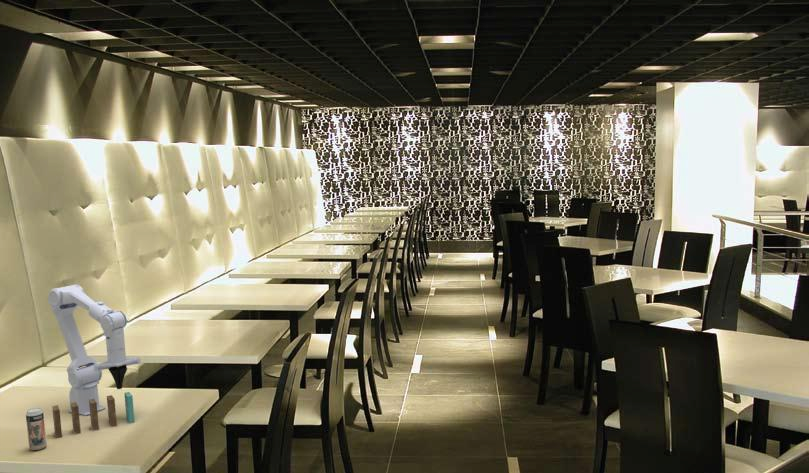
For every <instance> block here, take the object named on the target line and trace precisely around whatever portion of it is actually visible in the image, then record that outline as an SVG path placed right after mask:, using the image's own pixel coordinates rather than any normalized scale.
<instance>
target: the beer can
mask: <svg viewBox="0 0 809 473" xmlns="http://www.w3.org/2000/svg"><path fill="white" fill-rule="evenodd" d="M25 420H26V429H27V439H28V448H29V450H30V451H33V450H34V452H35V450H37V451H41V450H43V449H45V448H46V447H47V445H48V444H47V436H46V427H45V425H46V424H45V416H44V411H43V410H42V408H40V407H35V408H30V409H28V410H27V411H26V413H25Z"/></svg>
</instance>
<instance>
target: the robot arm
mask: <svg viewBox="0 0 809 473" xmlns="http://www.w3.org/2000/svg"><path fill="white" fill-rule="evenodd" d="M47 301H48V303H49V306H50V310H52V314H53V315H55V319H56V321H57V324H58V326H59V329H60V332H61V335H62V337H63V338H62V339H63V341H64V343H65V345H66V349H67V352H68V354H69V357H70V360H71V361H70V363H69V365H68V366H67V368H66V372H67V376H68V383H69V384H70V386H71V388H70V390H69V395H68V396H69V403H70V404H69V405H70V408H71V403H72V402H76V403H77V405H78V409H79V415H83V416H88V415H89V416H90V406H89V399H95V401H96V402H97V412H99V411H102V410H105V409H106V407H105V406H102V405H100V400H99V389H98V387H99V386H98V385H99V384H100V381H101V380H102V377H103V371H104V370H108V372H109V373H110V374H111V377H112V379H113V381H114V383H115V386H116V390H122V389H123V383H124V378H125V376H126V374H127V371H128V367H127V366H132V365H140V364H141V357H139V356H138V357H128V358H127V356H126V354H127V353H126V344H125V331H124V328H125V327H126V326H127V324H128V319H127V316H126V314H125V313H124V312H123V311H122V310H113V309H112V308H111V307H109V306H108V305H106V304H105V303H104V301H96V302H95V301H94V299H92V298H91V297H89V296H88V295H87V294H86V293H85V291H84V288H83V287H82V286H80V285H79V284H77V283H76V284H75V283H73V284H71V285H67V286H62V287H57V288H55V287H54V288H51V289H50V291H49V293H48V298H47ZM78 307H80V308H83V309H85V310H86V311H88V315H89V317H91V318H92V319H94V320H95V321H96V322H98V323H99V324H100V327H101V329H102V331H103V335H104V336H103V337H105V344H106V357H107V361H104V362H100V363H98V362H97V359H95V358H94V357H91V356H89V355H88V354H87V350H86V348H85V345H84V341H83V340H82V337H81V333H80V331H79V328H78V326H77V323H76V320H75V317H74V315H73V314H74V311H75V310H77V308H78ZM68 412H69V413H72V412H71V409H69V410H68Z"/></svg>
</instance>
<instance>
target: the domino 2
mask: <svg viewBox="0 0 809 473" xmlns="http://www.w3.org/2000/svg"><path fill="white" fill-rule="evenodd" d="M70 410H71V412H70V413H71V421H72V429H73V432H74V435H79V434H81V424H80V414H79V409H78V405H77V403H76V402H72V403H71V407H70Z"/></svg>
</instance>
